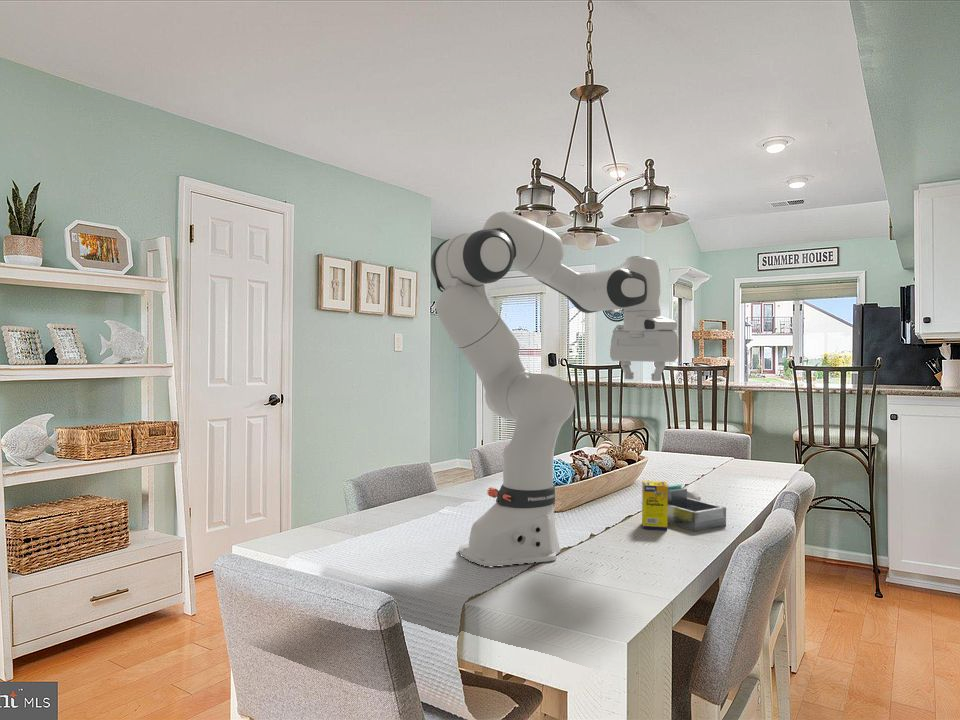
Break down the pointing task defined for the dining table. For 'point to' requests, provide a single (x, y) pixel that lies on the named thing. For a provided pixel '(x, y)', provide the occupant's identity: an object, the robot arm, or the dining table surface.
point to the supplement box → (654, 505)
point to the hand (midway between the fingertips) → (642, 380)
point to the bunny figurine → (690, 493)
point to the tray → (692, 511)
